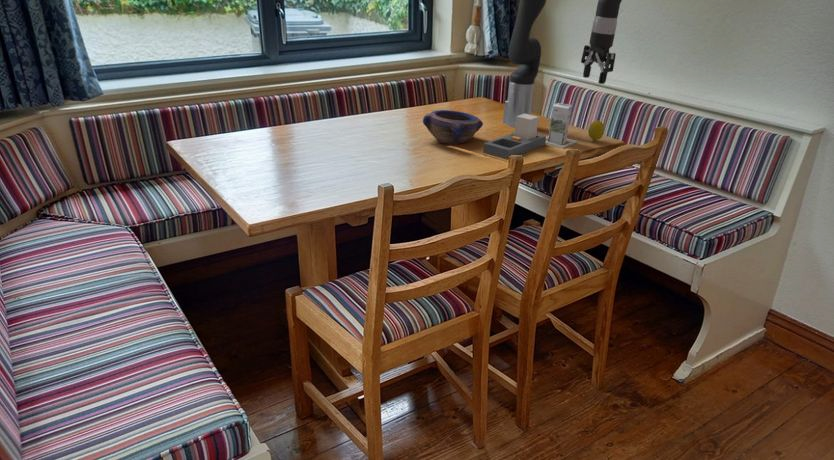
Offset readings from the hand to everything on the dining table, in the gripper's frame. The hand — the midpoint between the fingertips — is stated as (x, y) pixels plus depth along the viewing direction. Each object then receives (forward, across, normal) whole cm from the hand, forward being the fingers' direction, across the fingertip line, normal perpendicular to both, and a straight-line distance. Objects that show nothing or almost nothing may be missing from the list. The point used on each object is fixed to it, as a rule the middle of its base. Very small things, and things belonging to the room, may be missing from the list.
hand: (593, 80), depth 208 cm
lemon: (+24, -5, +10) cm, 26 cm away
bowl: (+25, -17, -43) cm, 52 cm away
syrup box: (+24, -4, -7) cm, 26 cm away
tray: (+24, -4, -7) cm, 25 cm away
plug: (+23, -5, -21) cm, 31 cm away
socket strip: (+24, -2, -26) cm, 36 cm away
